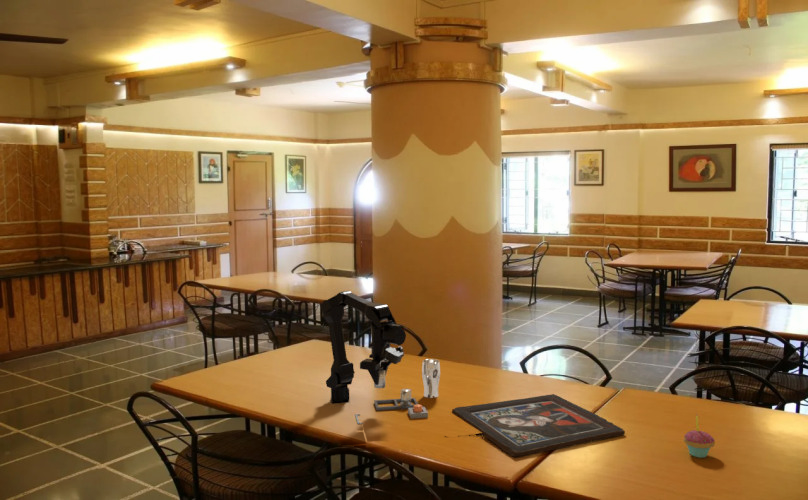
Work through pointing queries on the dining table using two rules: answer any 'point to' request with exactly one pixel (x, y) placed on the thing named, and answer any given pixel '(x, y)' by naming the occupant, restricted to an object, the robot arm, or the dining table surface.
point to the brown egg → (417, 408)
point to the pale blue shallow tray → (357, 419)
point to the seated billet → (406, 397)
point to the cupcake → (698, 442)
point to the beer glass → (431, 377)
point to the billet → (381, 379)
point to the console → (418, 413)
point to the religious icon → (537, 424)
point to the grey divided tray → (394, 403)
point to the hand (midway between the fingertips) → (379, 383)
